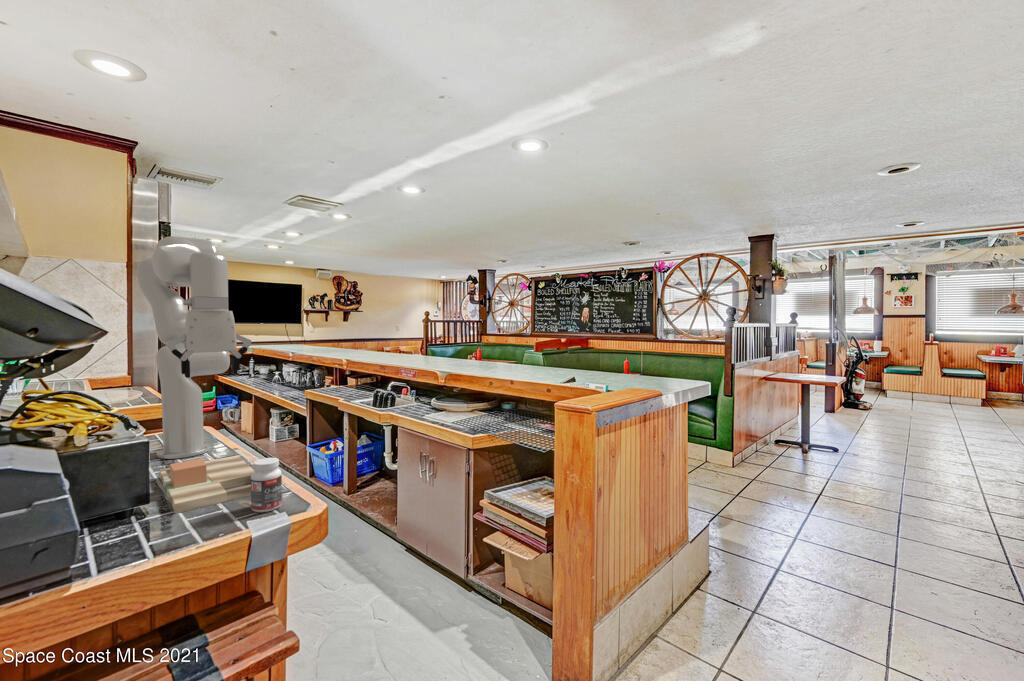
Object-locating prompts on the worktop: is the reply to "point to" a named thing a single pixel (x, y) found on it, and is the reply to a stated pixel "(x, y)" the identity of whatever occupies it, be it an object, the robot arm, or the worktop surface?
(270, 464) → the pill bottle
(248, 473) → the board
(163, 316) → the robot arm
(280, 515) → the worktop surface
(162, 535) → the worktop surface
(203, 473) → the block
